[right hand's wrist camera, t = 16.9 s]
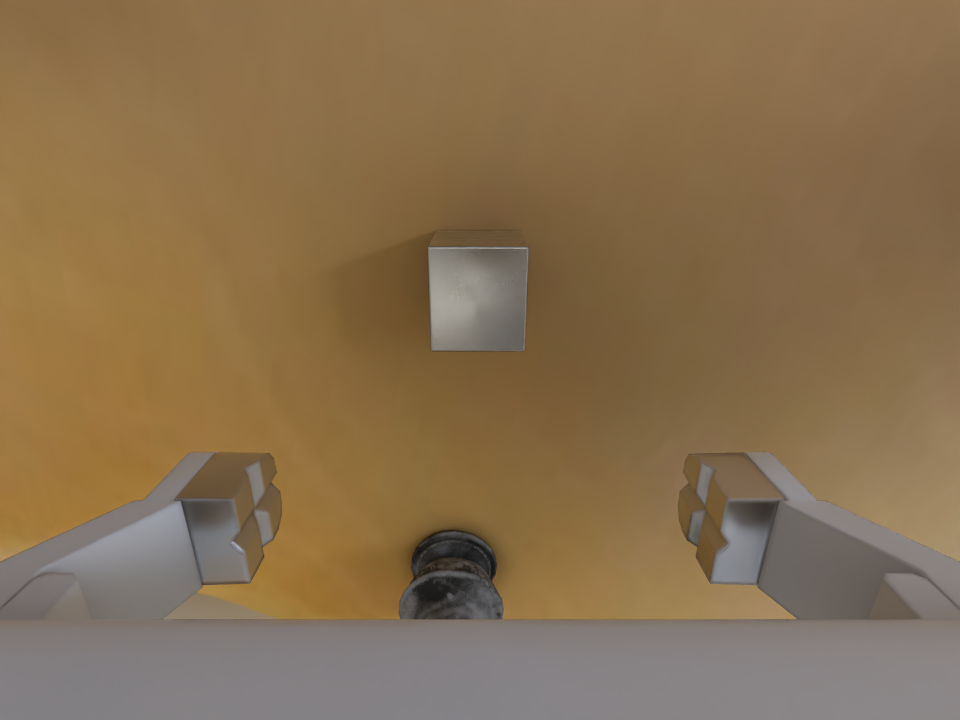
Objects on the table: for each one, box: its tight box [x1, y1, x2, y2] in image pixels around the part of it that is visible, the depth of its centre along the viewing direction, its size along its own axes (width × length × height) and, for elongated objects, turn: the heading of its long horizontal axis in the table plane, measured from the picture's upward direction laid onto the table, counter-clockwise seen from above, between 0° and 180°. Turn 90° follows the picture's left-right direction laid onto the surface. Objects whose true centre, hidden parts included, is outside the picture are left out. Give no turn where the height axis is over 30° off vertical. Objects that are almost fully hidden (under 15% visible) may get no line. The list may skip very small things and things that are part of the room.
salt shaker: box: [399, 531, 504, 619], centre depth 27 cm, size 6×6×12 cm
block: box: [427, 230, 529, 352], centre depth 24 cm, size 4×5×4 cm
